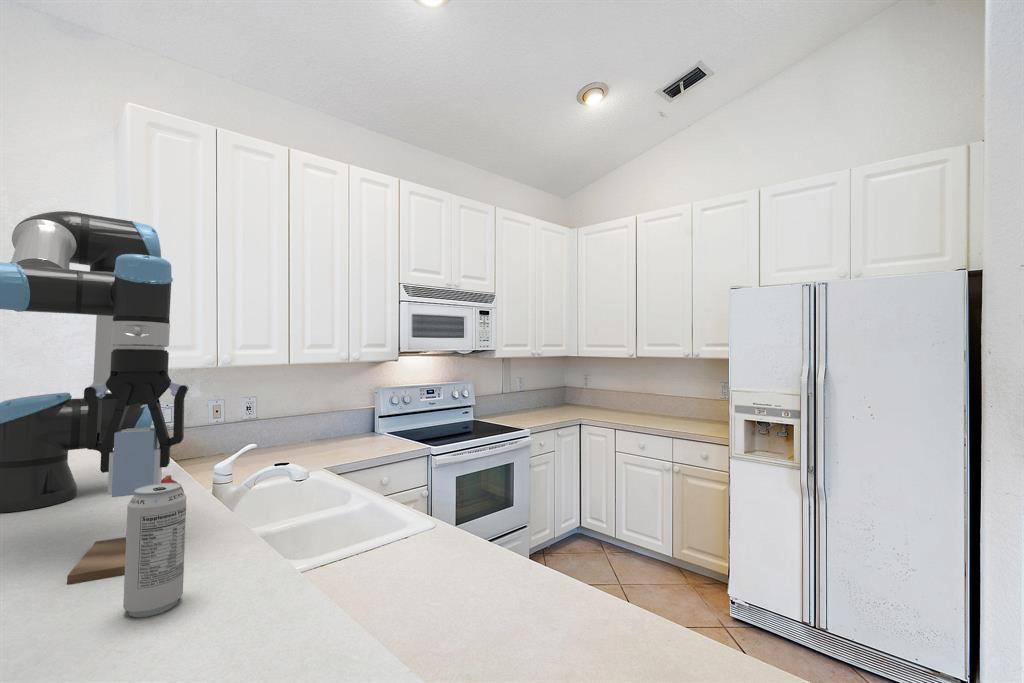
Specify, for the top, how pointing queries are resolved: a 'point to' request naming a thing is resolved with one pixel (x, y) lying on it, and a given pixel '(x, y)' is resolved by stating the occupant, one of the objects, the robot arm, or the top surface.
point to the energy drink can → (154, 549)
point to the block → (133, 460)
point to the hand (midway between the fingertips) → (135, 489)
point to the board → (100, 561)
